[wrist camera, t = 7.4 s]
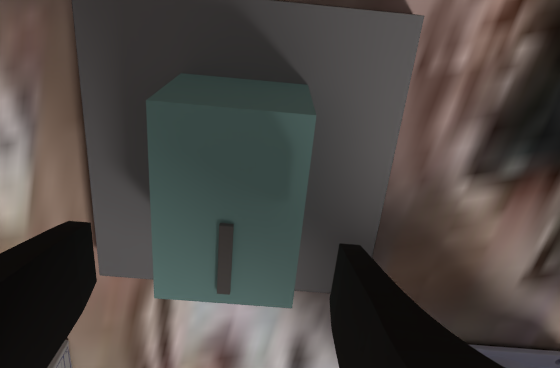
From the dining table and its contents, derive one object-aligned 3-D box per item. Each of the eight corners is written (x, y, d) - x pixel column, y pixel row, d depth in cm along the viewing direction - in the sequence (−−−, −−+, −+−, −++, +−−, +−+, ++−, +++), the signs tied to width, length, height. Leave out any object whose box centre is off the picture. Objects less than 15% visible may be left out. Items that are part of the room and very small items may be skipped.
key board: (413, 14, 18) (457, 20, 14) (359, 278, 24) (377, 345, 19) (85, -19, 18) (18, -24, 13) (110, 258, 23) (68, 322, 19)
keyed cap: (307, 84, 18) (316, 117, 13) (289, 240, 21) (292, 311, 16) (180, 73, 18) (144, 101, 13) (182, 232, 21) (153, 301, 16)
